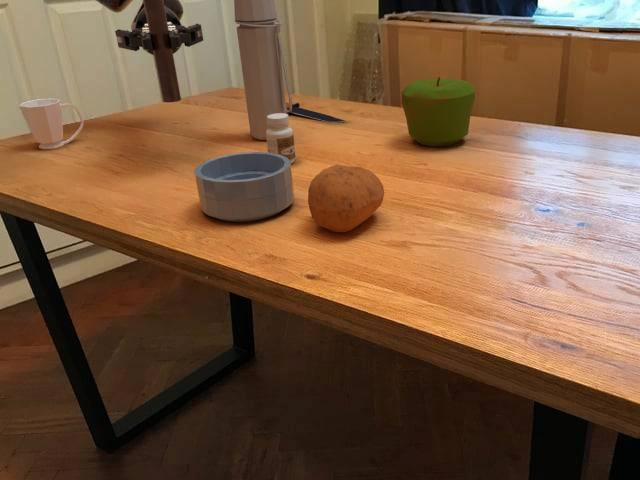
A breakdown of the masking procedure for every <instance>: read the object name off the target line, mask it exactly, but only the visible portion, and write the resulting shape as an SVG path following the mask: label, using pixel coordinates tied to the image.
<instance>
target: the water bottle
mask: <svg viewBox="0 0 640 480" xmlns="http://www.w3.org/2000/svg"><path fill="white" fill-rule="evenodd" d="M233 6H234V7H233V9H234V23H235V24H236V25H238V26H236V33H237V34H236V35H237V43H238V49H239V56H240V64H241V72H242V78H243V88H244V94H245V95H244V96H245V102H246V110H247V118H248V125H249V133H250V135H251V136H252V137H253V138H254V139H255V140H259V141H267V138H266V131H267V130H268V129H269V128H270V126H268V123H267V116H268V115H271V114H276V113H284V114H287V112H291V111H292V104H293V95H292V91H291V86H290V80H289V76H288V71H287V65H286V60H285V59H286V58H285V55H284V50H283V45H282V39H281V34H280V33H281V26H282V25H283V21H282V20H279V19H278V14H277V9H276V4H275V0H233ZM283 73H284V74H283ZM284 78H285V82H284ZM285 83H286V84H285ZM285 85H286V89H287V95H288V103H289V111H287V108H286V103H287V102H286V101H287V100H286V94H285V93H286V92H285ZM287 115H288V114H287Z"/></svg>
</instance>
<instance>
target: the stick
mask: <svg viewBox="0 0 640 480" xmlns="http://www.w3.org/2000/svg"><path fill="white" fill-rule="evenodd" d="M143 2H144V7H145V12H146V17H147V23H148V28H149V33H150V36H151V41H152V46H153V53H154V55H153V58H154V63H155V68H156V69H155V70H156V74H157V79H158V84H159V88H160V94H161V100H162V102H163V103H176V102H180V101H182V96H181V91H180V84H179V80H178V74H177V69H176V63H175V62H176V61H175V57H174V54H173V51H172V47H171V42H170V36H169V29H168V24H167V18H166V13H165V7H164V2H163V0H142V3H143Z"/></svg>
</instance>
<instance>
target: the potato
mask: <svg viewBox="0 0 640 480" xmlns="http://www.w3.org/2000/svg"><path fill="white" fill-rule="evenodd" d="M384 197H385V189H384V185H383V183H382V182H381V179H380V178H379V177H378V176H377V175H376V174H375V173H374V172H372V171H370V170H369V169H367V168H364V167H362V166H352V165H351V166H349V165H341V164H340V165H339V164H335V165H332V166H328V167H327V168H324V169H322V170H321V171H320V172H319V173H317V174H316V175H315V176H314V177H313V178H312V180H311V181H310V184H309V186H308V194H307V204H308V208H309V212H310V215H311V218H312V219H313V220H314V221H315V223H316V224H317V225H318V226H319V227H322V228H325V229H326V230H329V231H331V232H332V233H346V232H350V231H352V230H354V229H355V228H356V227H358V226H359V225H361V224H363V223H364V222H365V221H366V220H368V219H369V218H371V217H372V215H373V214H374V213H375V212H376V211H377V210H378V209H380V207H381V206H382V203H383V201H384Z"/></svg>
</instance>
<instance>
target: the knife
mask: <svg viewBox="0 0 640 480" xmlns="http://www.w3.org/2000/svg"><path fill="white" fill-rule="evenodd" d="M300 106H301V105H300V103H299V102H296V103H294V104H293V103H292V111H291V112H287V115H289V114H295V115H299V116H302V117H306V118H311V119H315V120H318V121H322V122H327V123H343V122H346V120H345V119H341V118H338V117H335V116H333V115H329V114H326V113H323V112H322V113H321V112H317V111H314V110H310V109H306V108H302V107H300ZM286 108H287V111H289V102H286Z"/></svg>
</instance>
